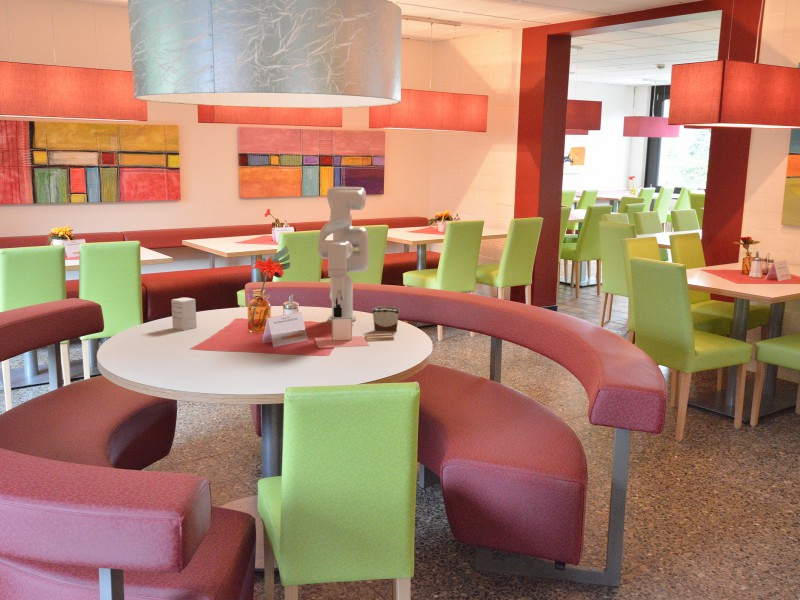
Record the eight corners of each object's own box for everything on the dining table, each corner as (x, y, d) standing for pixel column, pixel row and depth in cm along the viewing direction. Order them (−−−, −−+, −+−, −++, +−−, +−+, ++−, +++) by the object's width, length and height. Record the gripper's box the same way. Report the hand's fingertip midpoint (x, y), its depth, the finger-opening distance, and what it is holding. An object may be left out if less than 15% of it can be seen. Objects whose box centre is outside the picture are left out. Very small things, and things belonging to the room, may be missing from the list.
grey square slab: (331, 317, 309) (351, 317, 311) (331, 339, 311) (351, 338, 312) (332, 318, 307) (351, 318, 309) (332, 340, 309) (351, 340, 310)
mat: (314, 339, 314) (314, 337, 313) (362, 337, 318) (362, 336, 317) (318, 348, 298) (318, 347, 298) (369, 346, 302) (369, 345, 302)
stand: (364, 338, 316) (364, 334, 316) (390, 337, 318) (391, 333, 318) (367, 341, 310) (367, 338, 309) (393, 340, 312) (394, 337, 312)
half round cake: (401, 329, 333) (401, 306, 331) (400, 332, 327) (400, 309, 325) (373, 328, 334) (373, 305, 332) (371, 331, 328) (371, 308, 326)
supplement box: (186, 325, 336) (184, 296, 334) (197, 327, 332) (196, 298, 329) (172, 328, 330) (170, 299, 328) (183, 330, 326) (182, 301, 323)
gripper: (326, 270, 320) (326, 314, 323) (330, 275, 305) (330, 320, 308) (344, 270, 321) (344, 313, 324) (349, 275, 307) (349, 320, 310)
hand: (337, 316), depth 316 cm, fingers closed
